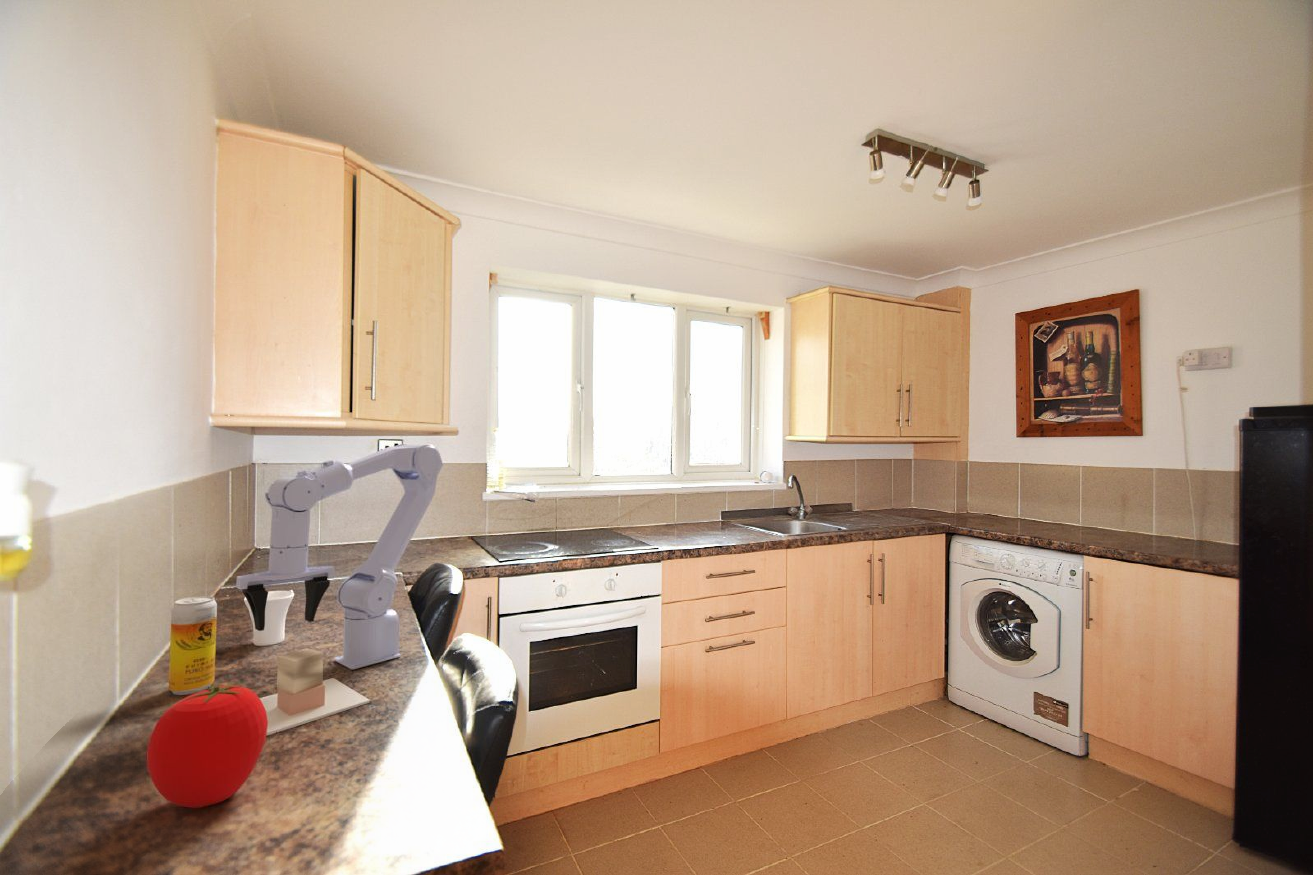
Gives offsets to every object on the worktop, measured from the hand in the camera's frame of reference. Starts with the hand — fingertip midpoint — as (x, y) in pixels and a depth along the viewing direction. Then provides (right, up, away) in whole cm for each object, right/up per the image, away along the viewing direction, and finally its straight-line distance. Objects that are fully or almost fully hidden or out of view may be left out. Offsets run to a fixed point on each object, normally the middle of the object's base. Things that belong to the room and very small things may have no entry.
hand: (285, 625), depth 101 cm
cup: (-18, -11, +22) cm, 31 cm away
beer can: (-15, -10, -2) cm, 18 cm away
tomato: (+12, -10, -33) cm, 36 cm away
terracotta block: (+8, -10, -9) cm, 16 cm away
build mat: (+7, -10, -8) cm, 15 cm away
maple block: (+8, -7, -9) cm, 14 cm away
